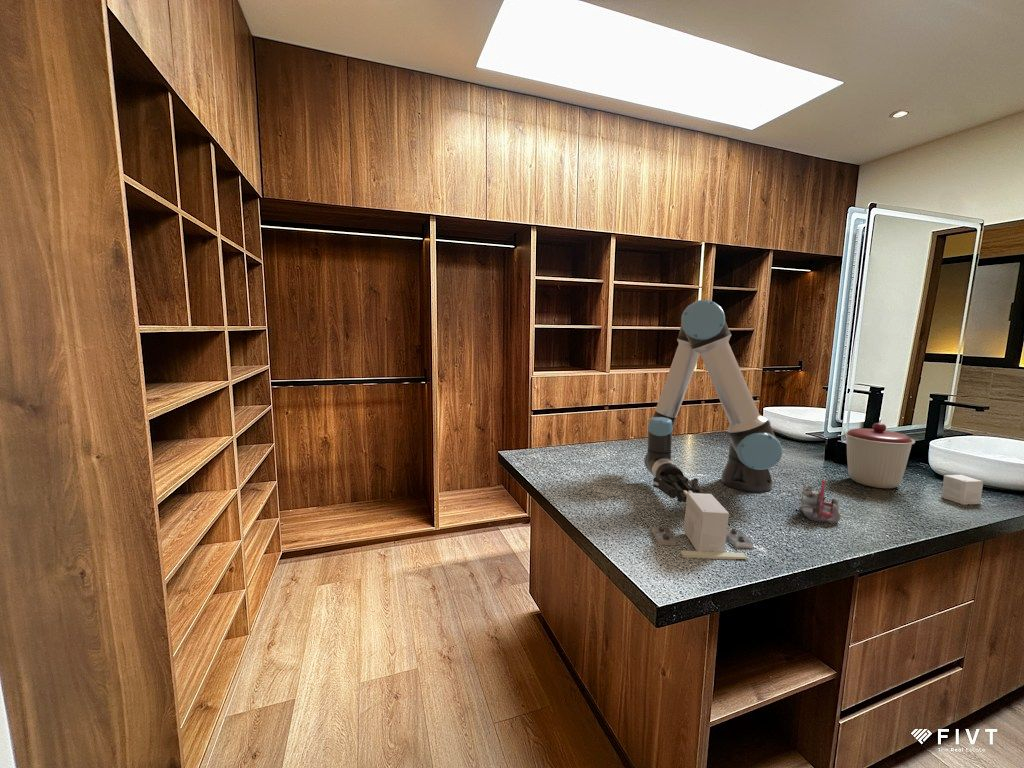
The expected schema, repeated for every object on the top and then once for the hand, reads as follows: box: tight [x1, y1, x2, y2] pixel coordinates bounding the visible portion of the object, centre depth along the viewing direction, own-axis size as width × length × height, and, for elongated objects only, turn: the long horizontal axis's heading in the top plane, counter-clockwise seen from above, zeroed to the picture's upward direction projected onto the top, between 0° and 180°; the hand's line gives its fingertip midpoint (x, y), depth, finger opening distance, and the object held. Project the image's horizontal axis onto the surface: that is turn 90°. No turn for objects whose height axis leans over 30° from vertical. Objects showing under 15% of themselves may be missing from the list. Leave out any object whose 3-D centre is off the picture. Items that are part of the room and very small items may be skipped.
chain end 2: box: [726, 528, 754, 549], centre depth 104 cm, size 4×7×2 cm, turn 176°
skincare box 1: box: [682, 492, 730, 552], centre depth 102 cm, size 10×6×10 cm, turn 176°
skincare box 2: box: [941, 474, 984, 506], centre depth 129 cm, size 6×6×7 cm
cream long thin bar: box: [680, 550, 748, 561], centre depth 97 cm, size 14×2×1 cm, turn 86°
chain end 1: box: [651, 526, 677, 546], centre depth 105 cm, size 4×7×2 cm, turn 176°
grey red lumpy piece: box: [798, 478, 841, 524], centre depth 118 cm, size 11×11×12 cm
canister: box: [844, 422, 916, 489], centre depth 143 cm, size 18×18×21 cm
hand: (695, 504), depth 107 cm, fingers closed, pressing on skincare box 1
